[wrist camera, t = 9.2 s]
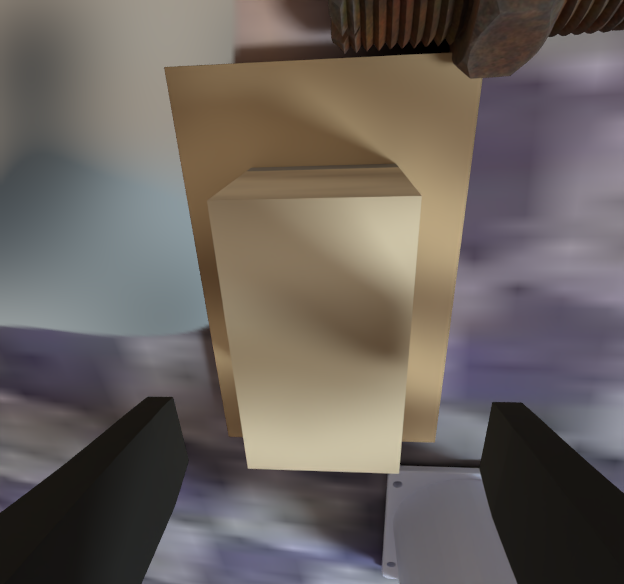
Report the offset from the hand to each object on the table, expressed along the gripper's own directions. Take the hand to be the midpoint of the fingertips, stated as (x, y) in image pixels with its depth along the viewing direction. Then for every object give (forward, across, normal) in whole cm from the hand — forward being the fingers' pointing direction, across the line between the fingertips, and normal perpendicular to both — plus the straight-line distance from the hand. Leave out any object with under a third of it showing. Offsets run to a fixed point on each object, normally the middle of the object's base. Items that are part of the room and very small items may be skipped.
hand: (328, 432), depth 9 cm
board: (+8, 0, 0) cm, 8 cm away
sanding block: (+7, 0, 0) cm, 7 cm away
